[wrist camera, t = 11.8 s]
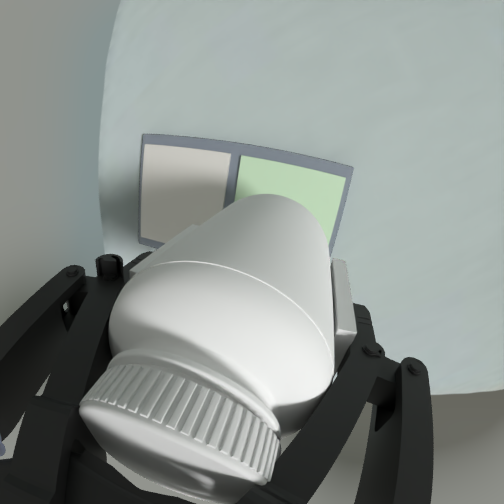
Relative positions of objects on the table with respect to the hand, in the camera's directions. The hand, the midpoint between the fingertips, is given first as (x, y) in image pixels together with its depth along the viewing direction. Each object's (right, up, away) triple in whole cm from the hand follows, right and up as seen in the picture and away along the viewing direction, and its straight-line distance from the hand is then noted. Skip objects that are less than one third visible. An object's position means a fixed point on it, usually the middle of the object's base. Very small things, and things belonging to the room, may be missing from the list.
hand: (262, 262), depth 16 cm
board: (-3, +5, +9) cm, 11 cm away
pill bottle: (+1, +1, +2) cm, 2 cm away
